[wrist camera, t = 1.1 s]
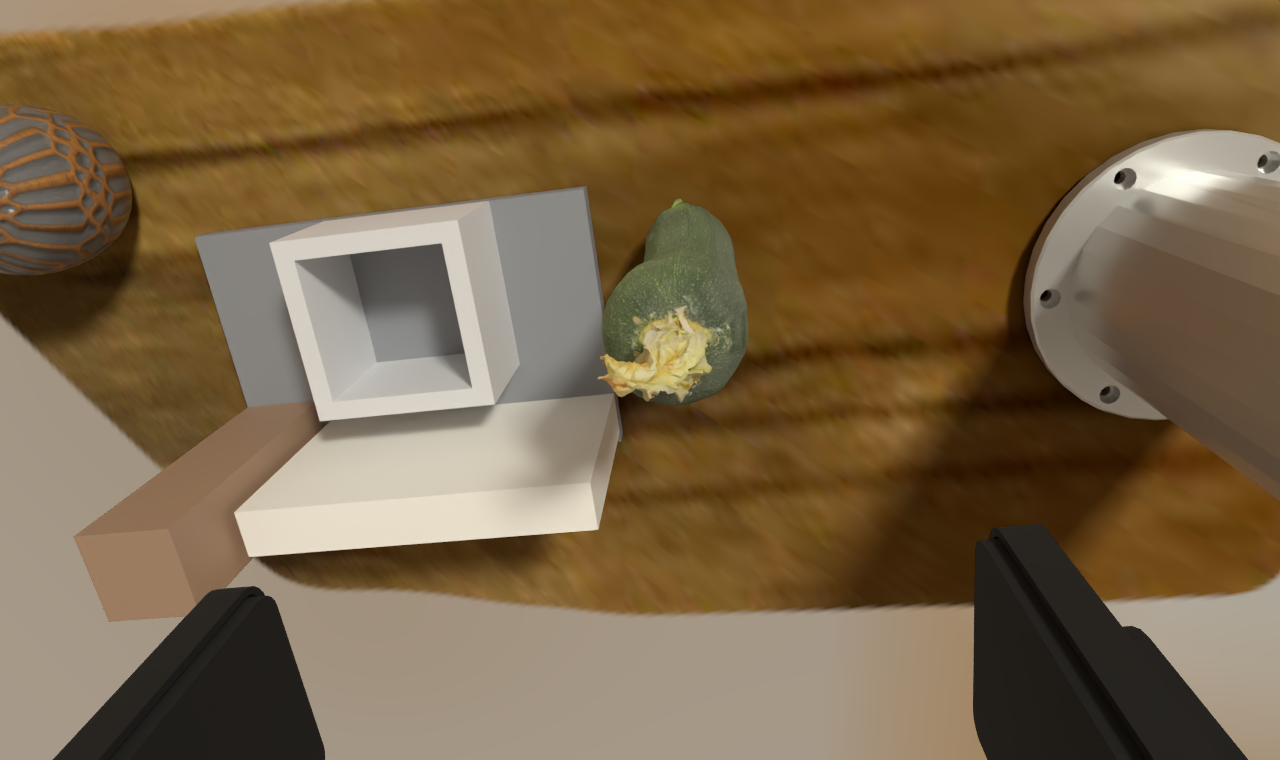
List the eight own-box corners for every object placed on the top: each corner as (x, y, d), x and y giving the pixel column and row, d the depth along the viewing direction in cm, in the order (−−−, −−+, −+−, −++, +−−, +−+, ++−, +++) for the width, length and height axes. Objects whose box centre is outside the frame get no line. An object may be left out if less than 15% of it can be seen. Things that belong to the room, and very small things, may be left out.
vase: (-17, 126, 37) (-218, 141, 29) (114, 82, 36) (-57, 84, 28) (59, 271, 40) (-108, 323, 31) (185, 233, 38) (45, 276, 30)
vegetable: (753, 244, 37) (808, 422, 18) (683, 309, 38) (668, 538, 19) (684, 172, 36) (668, 280, 17) (615, 241, 37) (530, 412, 18)
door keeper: (586, 186, 36) (530, 243, 24) (622, 433, 40) (590, 587, 28) (206, 233, 38) (-22, 307, 26) (277, 464, 42) (108, 621, 30)
